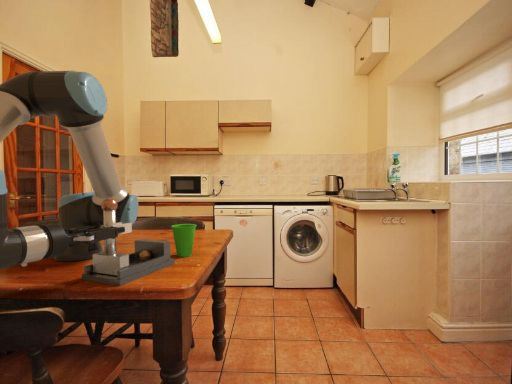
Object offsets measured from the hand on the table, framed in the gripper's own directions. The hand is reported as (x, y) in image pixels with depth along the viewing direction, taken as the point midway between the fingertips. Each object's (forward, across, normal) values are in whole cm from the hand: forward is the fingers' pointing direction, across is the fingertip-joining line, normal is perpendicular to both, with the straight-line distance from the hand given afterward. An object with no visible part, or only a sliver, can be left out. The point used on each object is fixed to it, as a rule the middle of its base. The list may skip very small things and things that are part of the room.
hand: (125, 227), depth 82 cm
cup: (+23, +4, -14) cm, 27 cm away
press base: (+2, 0, -14) cm, 14 cm away
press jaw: (-5, 0, -12) cm, 13 cm away
